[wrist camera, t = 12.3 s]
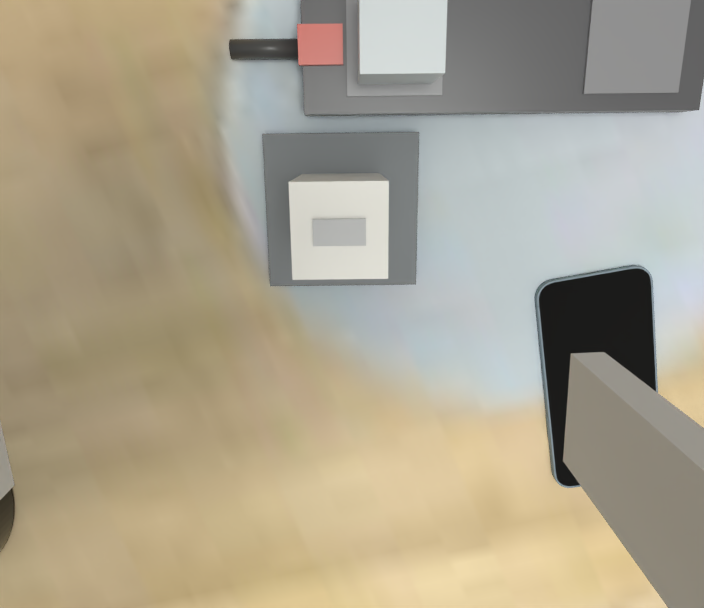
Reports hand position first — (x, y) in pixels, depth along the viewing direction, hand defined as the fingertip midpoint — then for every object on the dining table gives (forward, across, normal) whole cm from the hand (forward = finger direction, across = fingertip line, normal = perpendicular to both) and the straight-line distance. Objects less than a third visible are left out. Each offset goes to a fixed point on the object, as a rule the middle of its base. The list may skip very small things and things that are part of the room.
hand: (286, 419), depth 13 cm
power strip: (+23, +9, +11) cm, 27 cm away
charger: (+22, +1, +2) cm, 22 cm away
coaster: (+23, +2, +2) cm, 23 cm away
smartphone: (+23, +18, -10) cm, 31 cm away
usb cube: (+21, +5, +11) cm, 24 cm away
